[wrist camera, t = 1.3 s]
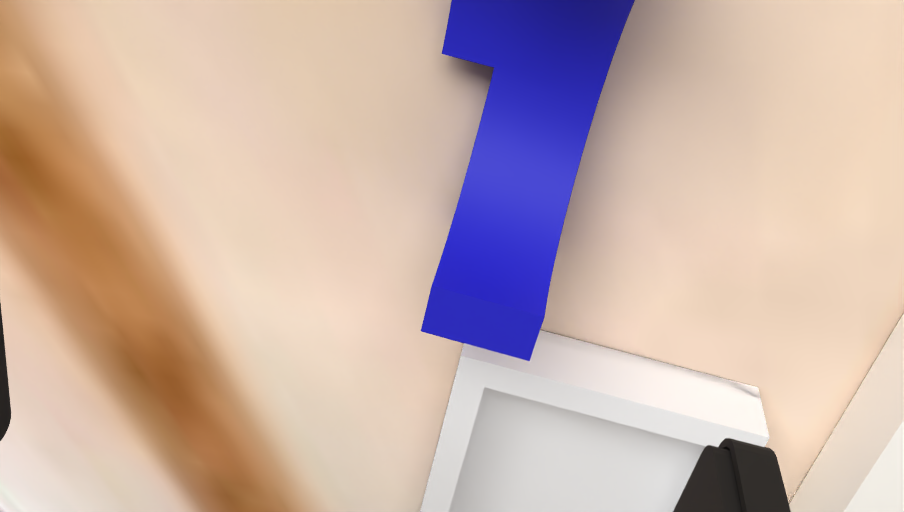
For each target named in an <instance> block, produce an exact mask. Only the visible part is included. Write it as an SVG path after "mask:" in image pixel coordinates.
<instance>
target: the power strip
mask: <svg viewBox="0 0 904 512" xmlns="http://www.w3.org/2000/svg"><path fill="white" fill-rule="evenodd" d="M789 507H790V511H791V512H904V313H903V315H902V317H901V318H900V320H899V322H898V323H897V325H896V327H895V328H894V330H893V332H892V333H891V335H890V337H889V338H888V340H887V342H886V343H885V345H884V347H883V348H882V350H881V352H880V353H879V355H878V357H877V358H876V360H875V362H874V363H873V365H872V367H871V369H870V370H869V372H868V374H867V375H866V377H865V379H864V380H863V382H862V384H861V385H860V387H859V389H858V390H857V392H856V394H855V395H854V397H853V399H852V400H851V402H850V404H849V405H848V407H847V409H846V410H845V412H844V414H843V415H842V417H841V419H840V420H839V422H838V424H837V425H836V427H835V429H834V430H833V432H832V434H831V435H830V437H829V439H828V440H827V442H826V444H825V445H824V447H823V449H822V450H821V452H820V454H819V455H818V457H817V459H816V460H815V462H814V464H813V465H812V467H811V469H810V470H809V472H808V474H807V476H806V477H805V479H804V481H803V482H802V484H801V486H800V487H799V489H798V491H797V492H796V494H795V496H794V497H793V499H792V501H791V502H790V504H789Z"/></svg>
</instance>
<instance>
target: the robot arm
mask: <svg viewBox="0 0 904 512" xmlns="http://www.w3.org/2000/svg"><path fill="white" fill-rule="evenodd" d="M10 419H11V407H10V397H9V386H8V376H7V366H6V355H5V345H4V335H3V325H2V314H1V304H0V441H1V440H2V438H3V437H4V435H5V433H6V431H7V429H8V426H9V424H10ZM673 512H791V511H790V507H789V503H788V499H787V495H786V492H785V488H784V484H783V480H782V476H781V472H780V468H779V465H778V461H777V457H776V455H775V453H774V451H773V450H771V449H770V448H766V447H762V446H758V445H754V444H750V443H746V442H742V441H739V440H735V439H731V438H725V439H724V440H723V441H722V442H721V443H720V445H719V447H715V446H712V445H707V446H706V447H705V448H704V450H703V451H702V453H701V455H700V457H699V459H698V461H697V463H696V465H695V468H694V470H693V472H692V474H691V476H690V478H689V480H688V482H687V484H686V486H685V488H684V490H683V492H682V494H681V496H680V498H679V500H678V502H677V504H676V507H675V509H674V511H673Z"/></svg>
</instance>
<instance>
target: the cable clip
mask: <svg viewBox="0 0 904 512" xmlns="http://www.w3.org/2000/svg"><path fill="white" fill-rule="evenodd" d="M634 1H635V0H452V2H451V8H450V14H449V19H448V25H447V30H446V35H445V40H444V45H443V50H442V54H445V55H449V56H452V57H456V58H460V59H464V60H467V61H471V62H475V63H479V64H483V65H486V66H490V67H494V70H493V75H492V78H491V82H490V86H489V90H488V94H487V98H486V102H485V106H484V110H483V114H482V117H481V121H480V125H479V129H478V132H477V136H476V140H475V144H474V147H473V151H472V155H471V158H470V162H469V166H468V169H467V173H466V176H465V180H464V183H463V187H462V190H461V194H460V197H459V201H458V204H457V208H456V211H455V214H454V218H453V221H452V225H451V228H450V231H449V234H448V238H447V241H446V244H445V247H444V251H443V254H442V257H441V260H440V263H439V266H438V269H437V272H436V275H435V278H434V281H433V284H432V287H431V291H430V295H429V300H428V304H427V308H426V312H425V316H424V320H423V324H422V329H421V331H422V332H425V333H429V334H433V335H436V336H440V337H444V338H447V339H451V340H454V341H458V342H462V343H465V344H469V345H472V346H476V347H480V348H483V349H487V350H490V351H494V352H498V353H501V354H505V355H508V356H512V357H516V358H519V359H523V360H526V361H530V358H531V355H532V352H533V349H534V346H535V343H536V340H537V337H538V334H539V331H540V328H541V325H542V322H543V319H544V316H545V309H546V303H547V297H548V291H549V286H550V281H551V276H552V271H553V266H554V262H555V257H556V253H557V248H558V244H559V240H560V235H561V231H562V227H563V223H564V219H565V215H566V211H567V207H568V203H569V200H570V196H571V192H572V188H573V185H574V181H575V177H576V174H577V170H578V167H579V163H580V160H581V156H582V153H583V149H584V146H585V142H586V139H587V136H588V132H589V129H590V126H591V122H592V119H593V116H594V113H595V110H596V106H597V103H598V100H599V97H600V94H601V91H602V88H603V85H604V82H605V79H606V76H607V73H608V70H609V67H610V64H611V61H612V58H613V55H614V53H615V50H616V47H617V44H618V41H619V39H620V36H621V33H622V31H623V28H624V25H625V23H626V20H627V18H628V15H629V13H630V10H631V8H632V5H633V3H634Z"/></svg>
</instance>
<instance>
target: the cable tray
mask: <svg viewBox="0 0 904 512" xmlns="http://www.w3.org/2000/svg"><path fill="white" fill-rule="evenodd" d="M725 438H731V439H735V440H739V441H742V442H746V443H750V444H754V445H758V446H762V447H765V445H766V443H767V441H768V440H769V433H768V429H767V424H766V420H765V416H764V411H763V407H762V402H761V398H760V394H759V389H758V387H755V386H751V385H747V384H743V383H740V382H736V381H732V380H728V379H724V378H721V377H717V376H713V375H709V374H705V373H702V372H698V371H694V370H690V369H686V368H683V367H679V366H675V365H671V364H668V363H664V362H660V361H656V360H652V359H649V358H645V357H641V356H637V355H633V354H630V353H626V352H622V351H618V350H614V349H611V348H607V347H603V346H599V345H596V344H592V343H588V342H584V341H580V340H577V339H573V338H569V337H565V336H561V335H558V334H554V333H550V332H546V331H542V330H540V331H539V334H538V337H537V340H536V343H535V346H534V349H533V352H532V355H531V358H530V361H526V360H523V359H519V358H516V357H512V356H508V355H505V354H501V353H498V352H494V351H490V350H487V349H483V348H480V347H476V346H472V345H469V344H465V343H464V345H463V349H462V353H461V357H460V360H459V364H458V368H457V372H456V376H455V380H454V383H453V387H452V391H451V395H450V399H449V403H448V406H447V410H446V414H445V418H444V422H443V426H442V429H441V433H440V437H439V441H438V445H437V449H436V452H435V456H434V460H433V464H432V468H431V472H430V475H429V479H428V483H427V487H426V491H425V495H424V498H423V502H422V506H421V510H420V512H673V511H674V509H675V507H676V504H677V502H678V500H679V498H680V496H681V494H682V492H683V490H684V488H685V486H686V484H687V482H688V480H689V478H690V476H691V474H692V472H693V470H694V468H695V465H696V463H697V461H698V459H699V457H700V455H701V453H702V451H703V450H704V448H705V447H706V446H707V445H712V446H715V447H719V445H720V443H721V442H722V441H723V440H724V439H725Z"/></svg>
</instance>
